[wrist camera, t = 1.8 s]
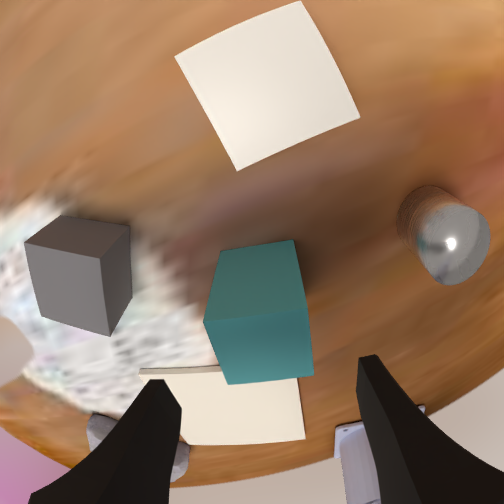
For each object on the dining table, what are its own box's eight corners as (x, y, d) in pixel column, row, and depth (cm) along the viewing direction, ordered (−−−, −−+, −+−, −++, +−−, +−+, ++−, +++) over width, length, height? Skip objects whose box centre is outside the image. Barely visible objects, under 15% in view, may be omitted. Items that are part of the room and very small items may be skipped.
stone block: (182, 455, 33) (196, 442, 27) (175, 485, 30) (187, 481, 23) (100, 425, 32) (92, 403, 26) (89, 454, 28) (77, 440, 22)
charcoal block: (130, 225, 16) (99, 258, 13) (133, 295, 19) (110, 336, 15) (61, 214, 16) (24, 242, 13) (70, 281, 18) (41, 316, 15)
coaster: (293, 357, 20) (294, 363, 20) (305, 434, 26) (305, 438, 25) (140, 368, 22) (138, 374, 21) (189, 439, 27) (188, 444, 26)
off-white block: (290, 26, 11) (300, 0, 8) (335, 113, 13) (360, 117, 10) (196, 68, 12) (174, 56, 9) (243, 154, 14) (237, 171, 11)
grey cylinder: (453, 182, 14) (494, 206, 11) (449, 244, 16) (483, 276, 13) (395, 189, 15) (430, 215, 11) (395, 254, 17) (423, 292, 13)
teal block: (293, 239, 16) (307, 307, 11) (301, 299, 18) (314, 375, 13) (220, 251, 17) (203, 321, 11) (236, 308, 19) (227, 384, 13)
